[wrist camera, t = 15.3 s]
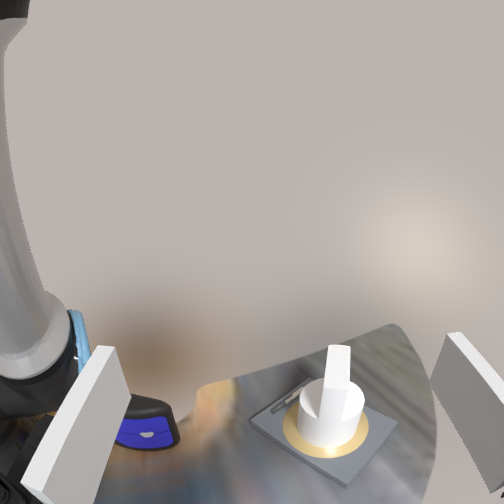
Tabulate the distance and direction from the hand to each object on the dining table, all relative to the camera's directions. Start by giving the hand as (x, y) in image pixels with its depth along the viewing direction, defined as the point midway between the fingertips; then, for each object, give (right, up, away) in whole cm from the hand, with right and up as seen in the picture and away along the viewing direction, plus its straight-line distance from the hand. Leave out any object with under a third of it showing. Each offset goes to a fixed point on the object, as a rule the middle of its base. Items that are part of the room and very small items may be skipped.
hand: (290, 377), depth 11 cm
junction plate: (+10, -22, +29) cm, 38 cm away
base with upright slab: (+10, -21, +29) cm, 37 cm away
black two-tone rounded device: (-20, -23, +28) cm, 42 cm away
